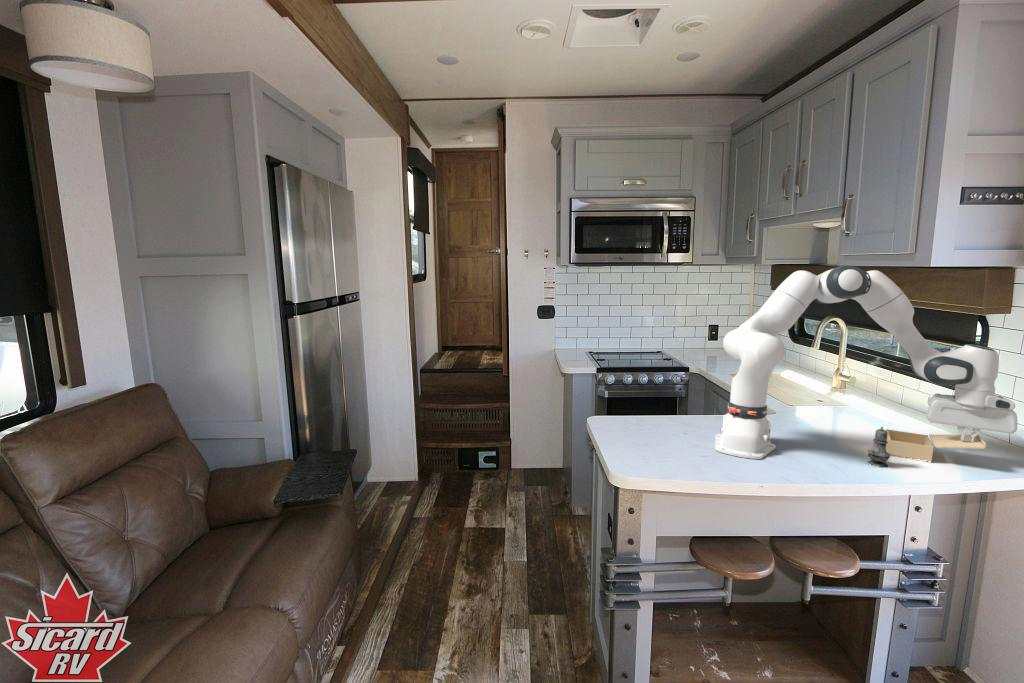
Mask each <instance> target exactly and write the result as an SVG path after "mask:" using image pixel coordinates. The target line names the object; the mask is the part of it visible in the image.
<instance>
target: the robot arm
mask: <svg viewBox="0 0 1024 683" xmlns="http://www.w3.org/2000/svg"><path fill="white" fill-rule="evenodd" d="M849 299H852V300H854V301H856V302H857V303H858V304H859V305H861V307H862V309H863V310H864V311H865V312H866V314H868V316H869V317H870V318H871V319H872V320H873V321H874V322H876V324H878V325H879V326H880V327H881V328H883V329H885V330H886V331H887V332H888V333H890V334H891V335H892V337H894V339H895V340H896V342H897V343H898V344H899V345H900V346H901V348H902V350H904V352H905V353H906V354H907V356H908V360H909V364H910V369H911V370H912V372H913V374H915V375H916V376H917V377H919V378H921V379H924V380H926V381H927V382H930V383H931V384H935V385H938V386H955V387H954V394H942V393H935V394H931V395H929V397H928V398H927V404H928V406H929V407H928V409H927V412H926V419H927V420H928V422H930V423H935V424H942V425H947V426H954V427H957V430H958V432H959V434H960V435H961V441H967V442H974V437H976V436H977V435H980V434H981V430H984V431H991V432H999V433H1003V434H1004V433H1005V434H1014V433H1016V432H1017V431H1018V422H1019V421H1018V416H1017V413H1016V411H1014V410H1015V408H1016V403H1015V402H1014V401H1013V400H1011V399H1009V398H1006V397H1004V396H1001V395H997V394H996V387H995V382H996V381H997V379H998V374H999V368H1000V367H999V365H1000V362H999V361H1000V360H999V359H1000V358H999V354H998V352H997V351H996V349H992V348H991V347H986V346H983V345H978V344H972V343H971V344H970V343H969V344H965V345H963V346H960V347H959V348H955V349H953V350H949V351H945V352H943V351H941V350H940V349H937V348H934V347H933V346H932V345H930V344H929V343H928V341H927V340H926V339H925V338H924V337H923V335H922V334H921V332H920V331H919V330H918V329H917V328H916V326H915V325H914V320H913V319H914V318H913V317H914V315H915V309H914V306H913V305H912V303H911V301H910V300H909V298H908V296H907V295H906V294H905V292H904V291H903V290H902V289H901V288H900V287H899V286H898V285H897V284H896V283H895V282H894V281H893V280H892V279H891V278H889V276H887V275H886V274H885V273H883V272H882V271H880V270H877V269H876V270H875V269H873V270H868V271H865V270H863V269H861V268H859V267H857V266H854V265H847V264H845V265H839V266H836V267H835V268H831V269H829V270H825V271H824V272H822V273H820V274H818V275H816V274H814V273H812V272H810V271H808V270H802V269H801V270H796V271H794V272H792V273H791V274H790V275H788V277H786V278H785V279H784V280H783V281H782V282H781V283H780V285H778V287H776V289H775V290H774V291H773V293H772V294H771V295H770V296H769V298H768V299H767V300H766V301H765V302H764V303H763V305H762V306H761V307H760V308H759V309H758V310H757V311H756V312H755V313H754V314H753V315H752V316H751V317H750V318H748V319H747V320H746V321H744V322H743V323H742V324H740V326H738V327H736V328H735V329H732V330H730V331H729V332H727V333H726V334H725V336H724V337H723V340H722V346H723V350H724V351H725V352H726V353H727V354H728V355H729V356H730V357H731V358H733V359H735V360H738V361H740V365H739V369H738V371H737V373H736V374H735V375H734V376H733V377H732V379H731V384H730V385H731V386H730V395H729V396H730V398H729V401H728V404H727V413H726V414H723V422H722V428H721V427H720V429H719V430H720V433H717V434H715V438H714V450H715V451H717V452H719V453H722V454H725V455H730V456H735V457H740V458H744V459H745V458H746V459H751V460H753V459H754V460H757V459H758V460H761V459H763V458H765V457H766V456H768V455H769V454H770V453H771V452H772V451H775V449H776V445H775V444H773V443H771V425H772V424H771V422H770V421H769V420H768V419H767V414H768V405H767V397H768V387H769V383H770V379H771V376H772V374H773V372H774V369H775V368H776V367H777V366H778V365H780V363H782V362H783V360H784V359H785V356H786V346H785V344H784V342H783V341H782V340H780V339H779V338H778V337H777V336H779V335H780V334H782V333H784V332H787V331H789V330H790V329H791V328H792V327H793V326H794V325H795V323H797V321H798V319H799V318H800V317H801V316H802V314H804V312H805V311H806V309H808V307H809V306H810V304H811V303H812V302H816V303H818V304H822V305H832V304H834V303H841V302H844V301H846V300H847V301H848V300H849ZM966 428H970V429H972V431H973V432H971V434H965V433H964V432H963V431H965V429H966Z"/></svg>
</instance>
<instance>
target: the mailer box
mask: <svg viewBox="0 0 1024 683" xmlns="http://www.w3.org/2000/svg"><path fill="white" fill-rule="evenodd" d="M885 431H887V440H886V441H887V442H888V443H887V444H886V452H887V453H889V454H890V455H891V456H890V457H896V456H897V458H902V457H905V458H904V459H907V458H912V459H911V460H913V459H920V460H927V461H932V460H933V454H934V453H933V452H934V444H933V442H932V440H931V438H930V436H929V434H928V435H927V434H920V433H915V432H914V433H912V432H908V431H903V430H901V431H900V430H894V429H888V428H885Z"/></svg>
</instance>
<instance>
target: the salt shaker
mask: <svg viewBox="0 0 1024 683" xmlns="http://www.w3.org/2000/svg"><path fill="white" fill-rule="evenodd" d="M886 440H887V431H886V429H884V427H883V426H881V427H880V428H878V429H876V430H875V435H874V439H872V441H873V447H872V448H871V449H867V451H866V452H867V454H868V458H869V460H867V461H866V463H867V462H868V463H869V464H868V463H867V464H868V465H870V464H871V466H873V465H874V466H873V467H876V466H879V467H878V468H888V467H889V464H887V463H886V462H888V461H889V460H890V458H891V457H892V456H891V455H890V454H889V453H887V452H886V444H887V443H888V442H887V441H886Z"/></svg>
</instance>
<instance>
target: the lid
mask: <svg viewBox="0 0 1024 683" xmlns="http://www.w3.org/2000/svg"><path fill="white" fill-rule="evenodd" d="M928 437H929V439H930V441H931V443H932V445H933V446H934V448H936V449H979V450H980V449H982V450H985V449H986V448H987V443H986V441H984V440H983V438H982V437H981V436H980V434H978V435H977V436H976V437H974V442H967V441H961V434H928Z"/></svg>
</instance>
